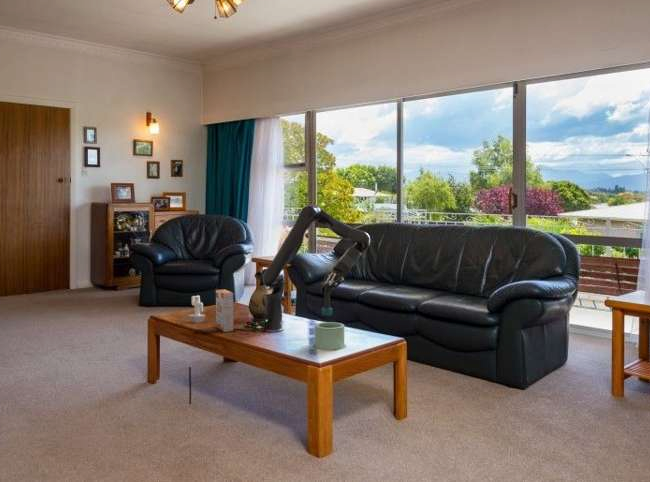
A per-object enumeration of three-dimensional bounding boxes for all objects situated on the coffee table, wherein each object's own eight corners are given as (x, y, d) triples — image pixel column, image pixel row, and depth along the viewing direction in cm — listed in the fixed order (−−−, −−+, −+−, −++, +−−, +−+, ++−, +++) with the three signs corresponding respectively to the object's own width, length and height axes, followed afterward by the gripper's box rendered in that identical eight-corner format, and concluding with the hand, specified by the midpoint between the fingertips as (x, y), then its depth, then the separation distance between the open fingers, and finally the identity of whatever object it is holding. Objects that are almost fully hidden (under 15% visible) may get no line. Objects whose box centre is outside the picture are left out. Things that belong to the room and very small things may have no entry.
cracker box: (215, 327, 309) (215, 289, 309) (225, 326, 312) (226, 289, 312) (222, 332, 297) (222, 293, 297) (233, 331, 299) (233, 292, 300)
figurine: (196, 323, 319) (196, 297, 319) (187, 321, 325) (187, 295, 325) (207, 321, 324) (207, 295, 324) (197, 319, 331) (197, 294, 331)
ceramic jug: (262, 322, 322) (263, 270, 322) (243, 319, 330) (243, 269, 331) (281, 318, 335) (281, 268, 336) (262, 315, 344) (262, 266, 345)
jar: (314, 349, 262) (314, 328, 262) (315, 342, 276) (315, 322, 276) (344, 349, 262) (344, 328, 262) (344, 342, 276) (344, 322, 276)
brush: (321, 315, 267) (321, 284, 267) (321, 313, 272) (322, 282, 272) (332, 315, 267) (332, 284, 267) (332, 313, 272) (332, 282, 272)
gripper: (331, 259, 280) (311, 285, 273) (348, 261, 268) (327, 289, 261) (340, 269, 283) (320, 295, 276) (357, 272, 271) (336, 299, 264)
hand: (323, 292), depth 269 cm, fingers closed on brush, 2 cm apart
